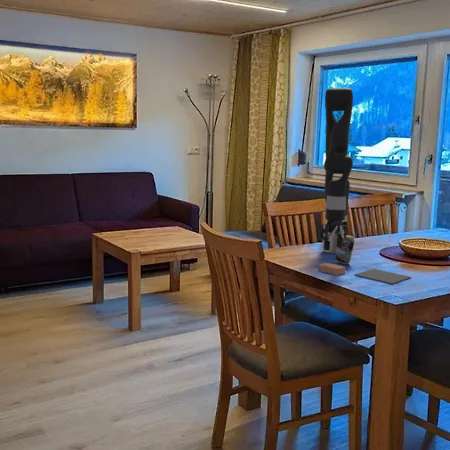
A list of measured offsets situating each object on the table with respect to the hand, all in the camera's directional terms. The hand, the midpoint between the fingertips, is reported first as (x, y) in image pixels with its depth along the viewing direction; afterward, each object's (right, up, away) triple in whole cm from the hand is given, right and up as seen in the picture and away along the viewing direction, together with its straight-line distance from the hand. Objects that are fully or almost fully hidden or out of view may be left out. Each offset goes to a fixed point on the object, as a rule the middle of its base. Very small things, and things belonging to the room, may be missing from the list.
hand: (333, 248), depth 223 cm
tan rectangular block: (0, -9, +2) cm, 10 cm away
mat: (+18, -11, -4) cm, 21 cm away
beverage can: (+8, -7, +16) cm, 20 cm away
